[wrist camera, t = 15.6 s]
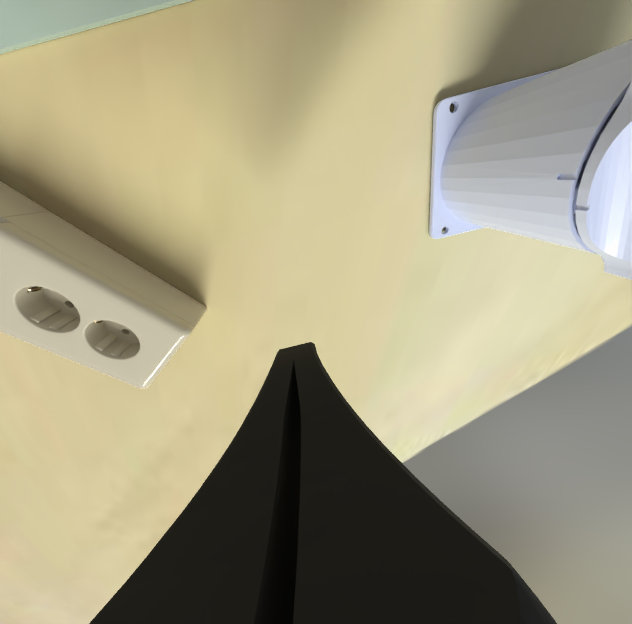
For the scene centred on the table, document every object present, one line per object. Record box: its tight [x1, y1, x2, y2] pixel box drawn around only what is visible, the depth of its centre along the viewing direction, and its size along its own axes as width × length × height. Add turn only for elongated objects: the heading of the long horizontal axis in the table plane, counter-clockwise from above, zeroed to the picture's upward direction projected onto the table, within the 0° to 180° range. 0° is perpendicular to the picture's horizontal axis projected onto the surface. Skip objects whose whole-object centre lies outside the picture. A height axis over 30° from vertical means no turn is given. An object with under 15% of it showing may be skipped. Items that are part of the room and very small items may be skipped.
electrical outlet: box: [0, 181, 207, 389], centre depth 15 cm, size 7×4×18 cm
